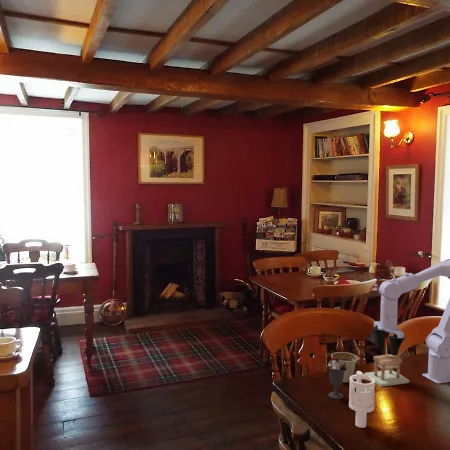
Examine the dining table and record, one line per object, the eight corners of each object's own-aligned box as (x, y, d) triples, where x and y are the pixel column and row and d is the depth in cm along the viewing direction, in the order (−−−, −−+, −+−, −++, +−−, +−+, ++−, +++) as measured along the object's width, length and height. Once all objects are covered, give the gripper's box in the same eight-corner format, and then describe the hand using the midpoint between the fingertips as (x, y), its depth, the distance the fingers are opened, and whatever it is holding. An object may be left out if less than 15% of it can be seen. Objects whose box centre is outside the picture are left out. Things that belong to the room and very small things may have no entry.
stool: (372, 375, 168) (373, 356, 168) (391, 372, 171) (391, 354, 170) (382, 380, 163) (383, 361, 163) (400, 378, 166) (401, 359, 165)
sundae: (323, 391, 156) (324, 349, 155) (342, 391, 157) (343, 348, 155) (329, 400, 149) (330, 356, 148) (349, 400, 150) (350, 355, 149)
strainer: (368, 419, 138) (370, 370, 136) (376, 431, 131) (378, 380, 129) (345, 419, 137) (346, 370, 136) (352, 431, 130) (354, 380, 129)
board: (391, 372, 174) (391, 369, 173) (409, 382, 164) (409, 380, 164) (363, 375, 170) (363, 373, 170) (380, 386, 160) (380, 383, 160)
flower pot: (354, 375, 171) (355, 352, 170) (359, 385, 161) (360, 361, 161) (329, 373, 172) (329, 351, 171) (332, 384, 162) (333, 360, 162)
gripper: (367, 310, 171) (366, 345, 172) (392, 321, 157) (391, 359, 158) (383, 309, 173) (382, 344, 174) (409, 319, 159) (408, 357, 160)
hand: (387, 351), depth 166 cm, fingers open, 7 cm apart
